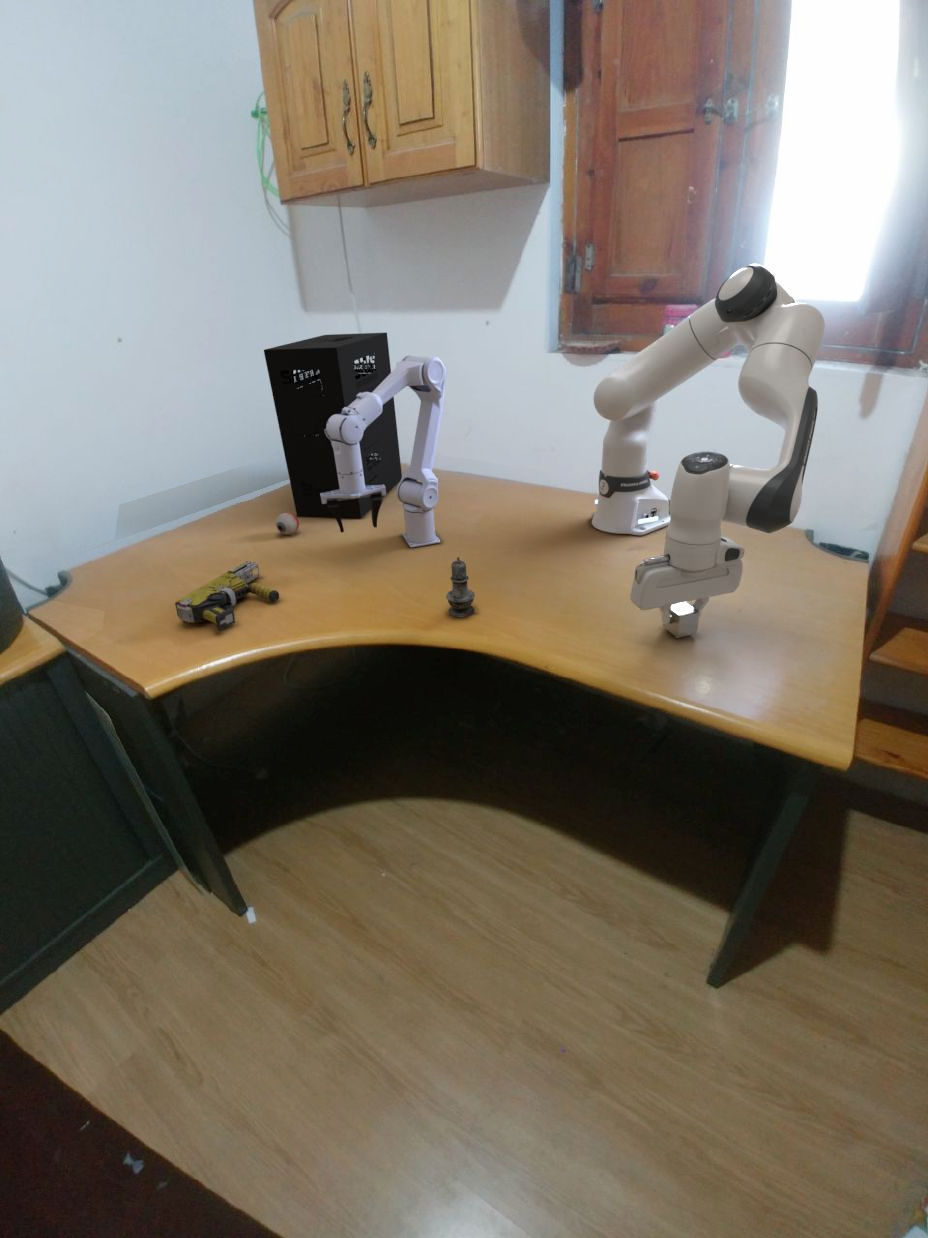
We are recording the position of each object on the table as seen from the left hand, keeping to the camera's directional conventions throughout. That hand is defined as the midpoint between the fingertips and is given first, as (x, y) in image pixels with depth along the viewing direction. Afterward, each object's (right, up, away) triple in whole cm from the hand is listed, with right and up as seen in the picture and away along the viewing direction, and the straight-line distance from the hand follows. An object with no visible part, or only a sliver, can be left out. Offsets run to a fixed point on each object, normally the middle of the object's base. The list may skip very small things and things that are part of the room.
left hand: (358, 528), depth 141 cm
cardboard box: (-10, +18, +50) cm, 54 cm away
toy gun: (-23, -18, -10) cm, 31 cm away
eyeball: (-23, +2, +24) cm, 34 cm away
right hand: (+64, -21, -30) cm, 74 cm away
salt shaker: (+24, -20, -18) cm, 36 cm away
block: (+65, -23, -29) cm, 75 cm away
